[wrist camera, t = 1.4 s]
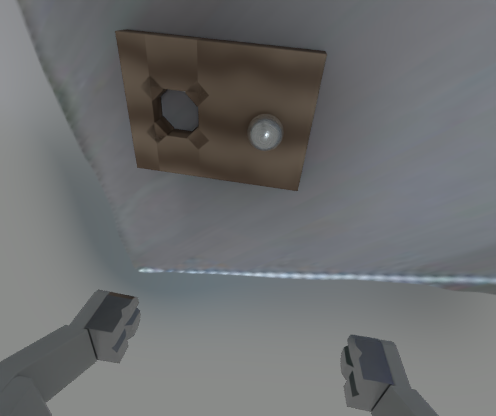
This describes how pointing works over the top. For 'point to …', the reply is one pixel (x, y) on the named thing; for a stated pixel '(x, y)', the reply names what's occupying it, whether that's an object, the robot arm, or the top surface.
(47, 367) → the robot arm
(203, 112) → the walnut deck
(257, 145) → the steel ball
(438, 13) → the top surface
